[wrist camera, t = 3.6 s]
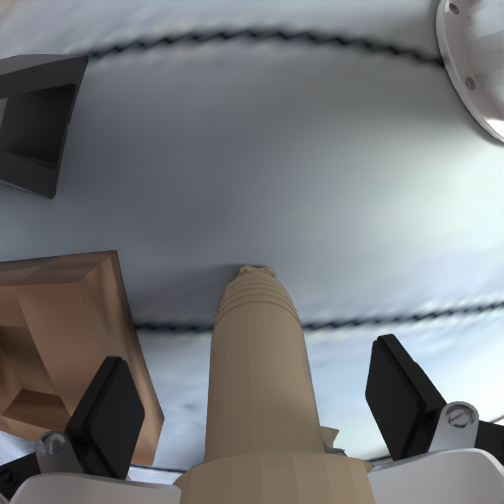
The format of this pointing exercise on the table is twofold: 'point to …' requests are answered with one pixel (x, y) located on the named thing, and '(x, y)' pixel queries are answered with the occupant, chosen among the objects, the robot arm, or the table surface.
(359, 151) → the table surface
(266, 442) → the handle
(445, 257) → the table surface
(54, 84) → the door stopper
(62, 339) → the socket block
